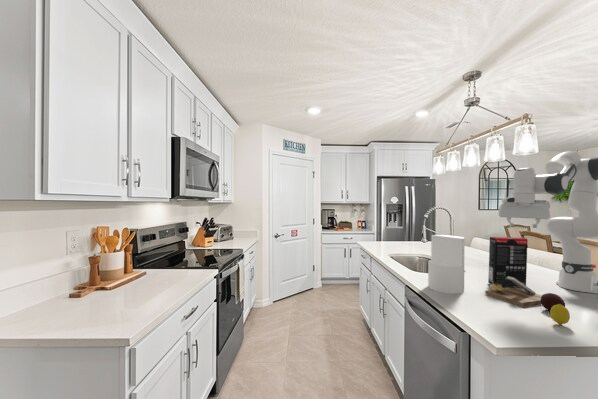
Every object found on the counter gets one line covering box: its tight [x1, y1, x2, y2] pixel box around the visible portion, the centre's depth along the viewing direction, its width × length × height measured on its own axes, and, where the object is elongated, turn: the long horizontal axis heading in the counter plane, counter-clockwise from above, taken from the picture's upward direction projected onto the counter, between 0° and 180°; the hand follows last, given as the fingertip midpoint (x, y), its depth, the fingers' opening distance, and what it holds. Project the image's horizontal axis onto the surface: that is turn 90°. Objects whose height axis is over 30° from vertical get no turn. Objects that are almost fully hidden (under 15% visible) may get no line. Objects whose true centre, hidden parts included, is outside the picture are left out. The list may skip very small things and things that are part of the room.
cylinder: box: [427, 234, 465, 295], centre depth 154 cm, size 17×17×28 cm
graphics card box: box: [487, 236, 528, 288], centre depth 160 cm, size 17×7×27 cm, turn 84°
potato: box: [541, 292, 566, 312], centre depth 123 cm, size 8×9×8 cm
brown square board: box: [485, 287, 543, 308], centre depth 139 cm, size 20×18×2 cm
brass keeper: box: [489, 283, 509, 292], centre depth 143 cm, size 4×6×3 cm, turn 17°
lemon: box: [549, 304, 571, 326], centre depth 109 cm, size 6×6×8 cm
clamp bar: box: [507, 276, 536, 294], centre depth 139 cm, size 16×3×1 cm, turn 107°
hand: (522, 227), depth 143 cm, fingers open, 8 cm apart
